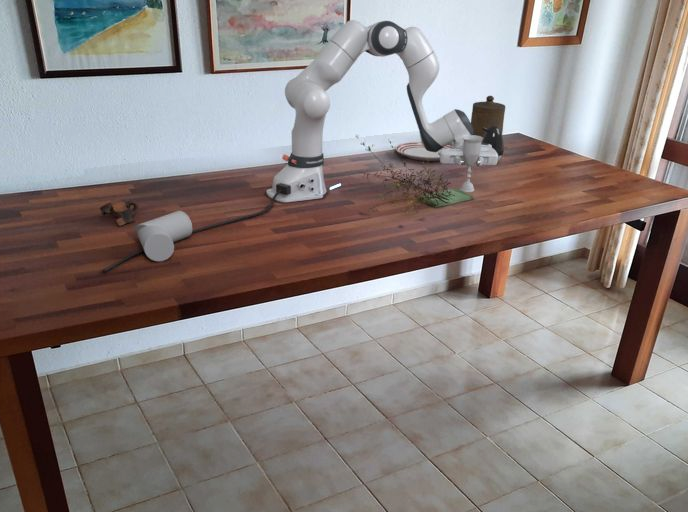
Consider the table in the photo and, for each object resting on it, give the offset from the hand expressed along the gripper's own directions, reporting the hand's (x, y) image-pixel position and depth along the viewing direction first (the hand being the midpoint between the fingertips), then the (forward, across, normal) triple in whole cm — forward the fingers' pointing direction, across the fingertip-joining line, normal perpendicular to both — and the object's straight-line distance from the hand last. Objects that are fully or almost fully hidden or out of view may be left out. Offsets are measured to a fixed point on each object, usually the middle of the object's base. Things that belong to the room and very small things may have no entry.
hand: (470, 163), depth 240 cm
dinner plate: (-66, -11, +17) cm, 69 cm away
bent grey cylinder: (+45, -95, +16) cm, 106 cm away
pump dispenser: (-62, +17, +17) cm, 66 cm away
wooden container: (-87, +17, +17) cm, 91 cm away
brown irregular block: (+24, -115, +16) cm, 119 cm away
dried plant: (+15, -23, +16) cm, 32 cm away
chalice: (-1, 0, +10) cm, 10 cm away
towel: (-9, -7, +16) cm, 20 cm away
